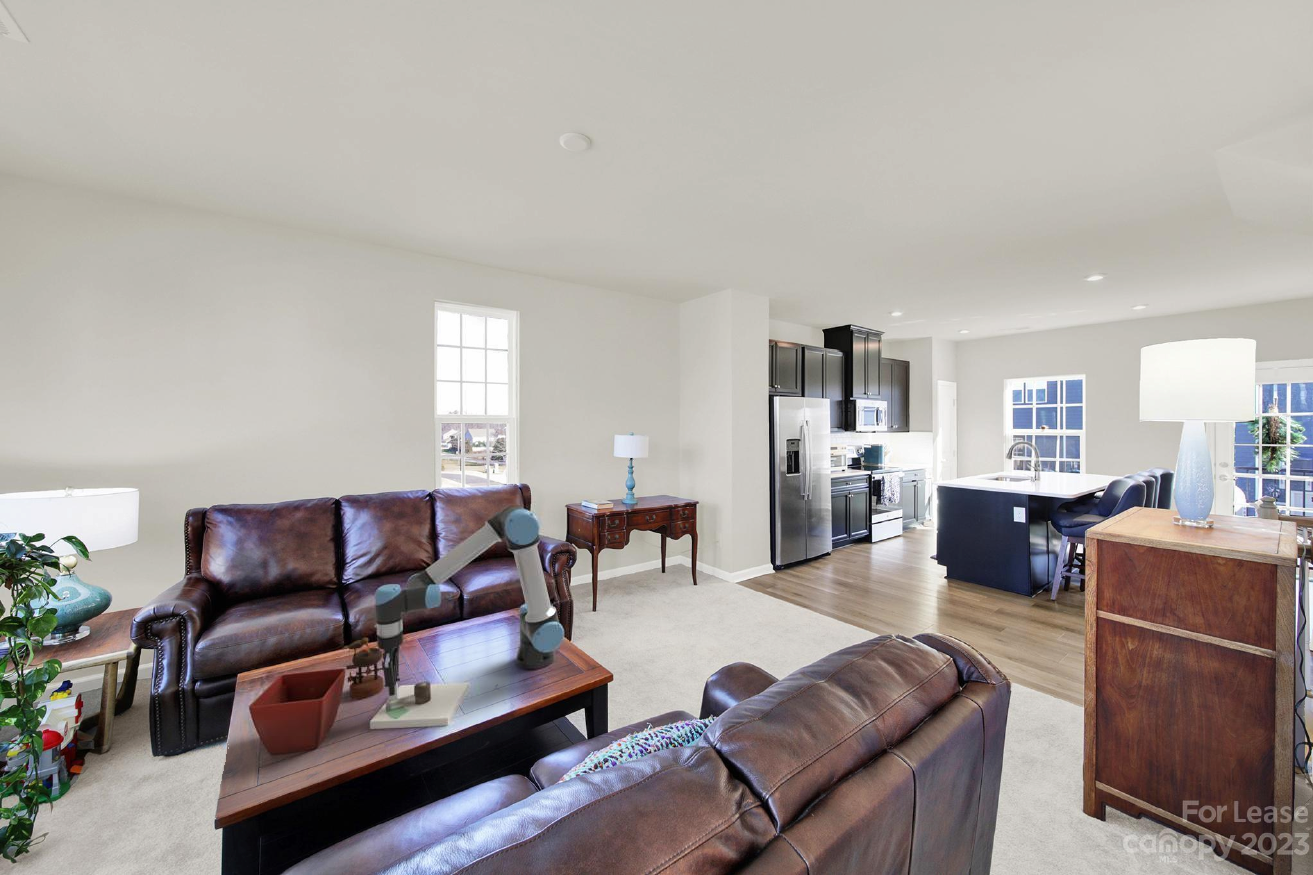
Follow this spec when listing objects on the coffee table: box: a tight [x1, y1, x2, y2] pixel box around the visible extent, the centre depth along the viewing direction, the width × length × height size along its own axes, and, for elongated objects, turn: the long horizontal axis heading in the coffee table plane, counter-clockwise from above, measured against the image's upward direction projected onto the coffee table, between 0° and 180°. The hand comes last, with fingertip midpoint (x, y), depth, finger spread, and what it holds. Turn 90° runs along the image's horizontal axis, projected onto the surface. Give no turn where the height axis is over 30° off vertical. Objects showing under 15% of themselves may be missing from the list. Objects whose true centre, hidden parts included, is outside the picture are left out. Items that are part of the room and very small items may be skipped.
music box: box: [342, 637, 384, 700], centre depth 186 cm, size 15×11×20 cm
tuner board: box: [369, 682, 470, 730], centre depth 175 cm, size 24×22×3 cm
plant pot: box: [248, 667, 347, 756], centre depth 158 cm, size 19×19×17 cm
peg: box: [385, 681, 431, 711], centre depth 172 cm, size 14×5×5 cm, turn 124°
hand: (393, 702), depth 171 cm, fingers closed
